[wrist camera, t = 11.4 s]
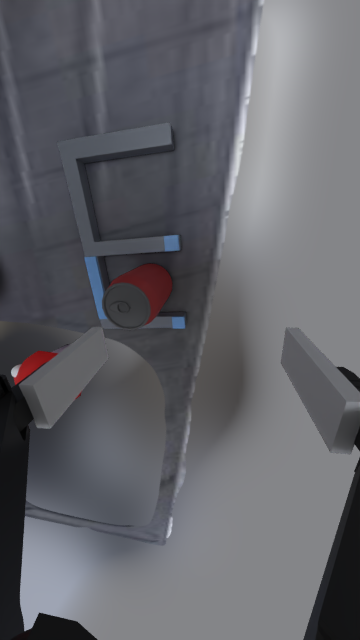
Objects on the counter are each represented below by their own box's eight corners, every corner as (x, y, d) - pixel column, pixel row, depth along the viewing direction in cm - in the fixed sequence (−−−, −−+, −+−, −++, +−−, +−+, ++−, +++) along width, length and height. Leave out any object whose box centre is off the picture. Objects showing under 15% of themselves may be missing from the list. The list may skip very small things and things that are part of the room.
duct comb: (66, 147, 28) (54, 140, 25) (172, 130, 25) (169, 120, 23) (107, 324, 37) (101, 329, 35) (186, 322, 35) (185, 328, 33)
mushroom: (47, 366, 43) (-7, 411, 32) (53, 323, 39) (-7, 359, 28) (95, 385, 44) (56, 436, 33) (106, 345, 39) (66, 388, 28)
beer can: (130, 263, 33) (90, 279, 22) (171, 261, 32) (151, 276, 21) (136, 303, 35) (103, 334, 24) (174, 302, 34) (157, 335, 23)
